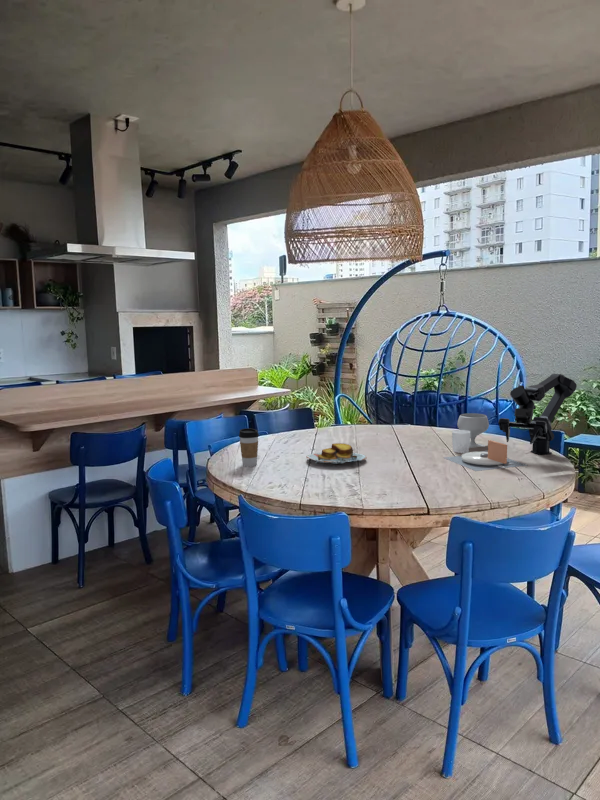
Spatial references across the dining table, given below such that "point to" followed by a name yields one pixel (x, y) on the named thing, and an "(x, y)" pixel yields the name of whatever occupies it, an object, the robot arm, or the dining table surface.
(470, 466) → the board
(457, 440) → the white cup
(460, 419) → the chalice
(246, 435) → the coffee cup
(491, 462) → the dial
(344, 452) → the food on plate
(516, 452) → the dining table surface
